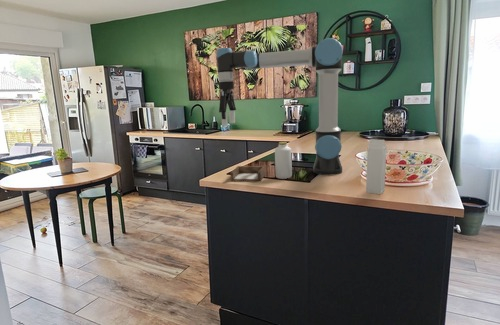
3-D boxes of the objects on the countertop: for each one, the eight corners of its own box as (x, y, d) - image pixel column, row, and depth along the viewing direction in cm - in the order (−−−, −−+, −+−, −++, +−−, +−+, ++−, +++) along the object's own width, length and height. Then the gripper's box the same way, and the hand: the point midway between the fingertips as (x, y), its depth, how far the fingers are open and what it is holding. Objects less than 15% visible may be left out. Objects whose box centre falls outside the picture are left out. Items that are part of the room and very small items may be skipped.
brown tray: (265, 174, 169) (265, 166, 168) (260, 181, 156) (260, 172, 155) (238, 174, 172) (237, 166, 171) (231, 181, 159) (230, 172, 158)
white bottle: (291, 179, 157) (290, 143, 153) (274, 179, 158) (273, 144, 154) (292, 175, 164) (291, 141, 161) (276, 175, 166) (275, 141, 162)
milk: (370, 188, 136) (371, 138, 132) (384, 190, 133) (387, 138, 128) (365, 192, 132) (367, 140, 127) (381, 194, 128) (383, 140, 123)
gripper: (226, 82, 168) (228, 122, 173) (210, 81, 145) (213, 127, 149) (239, 81, 167) (242, 121, 171) (225, 80, 143) (228, 126, 147)
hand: (228, 124), depth 160 cm, fingers open, 13 cm apart
